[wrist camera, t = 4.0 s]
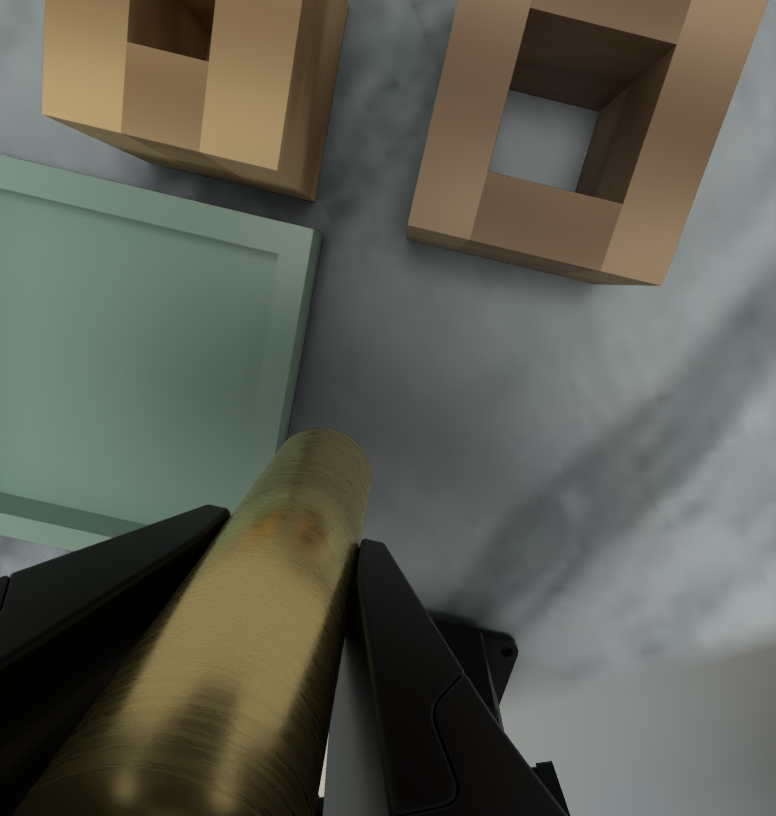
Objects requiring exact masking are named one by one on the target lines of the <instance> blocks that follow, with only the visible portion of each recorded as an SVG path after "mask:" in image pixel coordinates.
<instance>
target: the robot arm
mask: <svg viewBox="0 0 776 816" xmlns="http://www.w3.org/2000/svg"><path fill="white" fill-rule="evenodd" d="M230 516H231V515H230V511H229V509H227V508H224V507H219V506H215V505H210V504H207V505H204V506H201V507H198V508H195V509H193V510H190V511H187V512H184V513H181V514H178V515H176V516H173V517H170V518H167V519H164V520H162V521H159V522H156V523H153V524H150V525H147V526H145V527H142V528H139V529H136V530H133V531H131V532H128V533H125V534H122V535H119V536H116V537H114V538H111V539H108V540H105V541H102V542H99V543H97V544H94V545H91V546H88V547H85V548H82V549H80V550H77V551H74V552H71V553H68V554H65V555H63V556H60V557H57V558H54V559H51V560H48V561H46V562H43V563H40V564H37V565H34V566H31V567H29V568H26V569H23V570H20V571H17V572H14V573H12V574H11V575H10V579H9V577H8V576H3V577H0V816H11V815H12V814H13V812H14V811H15V810H16V808H17V807H18V805H19V804H20V803H21V801H22V800H23V799H24V797H25V796H26V794H27V793H28V792H29V790H30V789H31V788H32V786H33V785H34V784H35V782H36V781H37V779H38V778H39V777H40V775H41V774H42V773H43V771H44V770H45V769H46V767H47V766H48V764H49V763H50V762H51V760H52V759H53V758H54V756H55V755H56V754H57V752H58V751H59V749H60V748H61V747H62V745H63V744H64V743H65V741H66V740H67V739H68V737H69V736H70V734H71V733H72V732H73V730H74V729H75V728H76V726H77V725H78V723H79V722H80V721H81V719H82V718H83V717H84V715H85V714H86V713H87V711H88V710H89V708H90V707H91V706H92V704H93V703H94V702H95V700H96V699H97V698H98V696H99V695H100V693H101V692H102V691H103V689H104V688H105V687H106V685H107V684H108V683H109V681H110V680H111V678H112V677H113V676H114V674H115V673H116V672H117V670H118V669H119V668H120V666H121V665H122V663H123V662H124V661H125V659H126V658H127V657H128V655H129V654H130V652H131V651H132V650H133V648H134V647H135V646H136V644H137V643H138V642H139V640H140V639H141V637H142V636H143V635H144V633H145V632H146V631H147V629H148V628H149V627H150V625H151V624H152V622H153V621H154V620H155V618H156V617H157V616H158V614H159V613H160V612H161V610H162V609H163V607H164V606H165V605H166V603H167V602H168V601H169V599H170V598H171V597H172V595H173V594H174V592H175V591H176V590H177V588H178V587H179V586H180V584H181V583H182V581H183V580H184V579H185V577H186V576H187V575H188V573H189V572H190V571H191V569H192V568H193V566H194V565H195V564H196V562H197V561H198V560H199V558H200V557H201V556H202V554H203V553H204V551H205V550H206V549H207V547H208V546H209V545H210V543H211V542H212V541H213V539H214V538H215V536H216V535H217V534H218V532H219V531H220V530H221V528H222V527H223V526H224V524H225V523H226V521H227V520H228V519H229V517H230ZM505 647H509V649H507V650H502V649H503V648H505ZM517 655H518V648H517V645H516V642H515V640H514V639H513V638H511V637H509V636H505V635H500V634H496V633H491V632H487V631H482V630H478V629H473V628H469V627H464V626H460V625H455V624H451V623H446V622H442V621H437V620H433V619H431V618H430V616H429V614H428V613H427V611H426V610H425V608H424V606H423V605H422V603H421V602H420V600H419V598H418V597H417V595H416V594H415V592H414V590H413V589H412V587H411V586H410V584H409V582H408V581H407V579H406V578H405V576H404V574H403V573H402V571H401V570H400V568H399V566H398V565H397V563H396V562H395V560H394V558H393V557H392V555H391V554H390V552H389V550H388V549H387V547H386V546H385V544H384V543H382V542H378V541H373V540H368V539H363V540H362V541H361V543H360V547H359V552H358V558H357V564H356V570H355V575H354V581H353V587H352V593H351V600H350V608H349V615H348V622H347V628H346V633H345V639H344V645H343V651H342V657H341V663H340V669H339V675H338V680H337V686H336V692H335V698H334V704H333V710H332V716H331V721H330V727H329V740H328V754H327V766H326V780H325V793H324V794H325V795H324V797H319V795H318V798H317V804H316V809H315V815H314V816H570V814H569V811H568V808H567V805H566V802H565V799H564V796H563V793H562V790H561V787H560V784H559V781H558V778H557V775H556V772H555V769H554V766H553V763H552V761H549V762H542V763H536V767H530V766H529V765H528V764H527V762H526V761H525V760H524V758H523V757H522V755H521V754H520V753H519V751H518V750H517V749H516V748H515V746H514V745H513V743H512V742H511V741H510V739H509V738H508V736H507V735H506V734H505V732H504V728H503V723H502V719H501V714H500V709H499V704H500V701H501V699H502V696H503V693H504V691H505V688H506V685H507V682H508V680H509V677H510V674H511V672H512V669H513V666H514V664H515V661H516V658H517Z"/></svg>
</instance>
